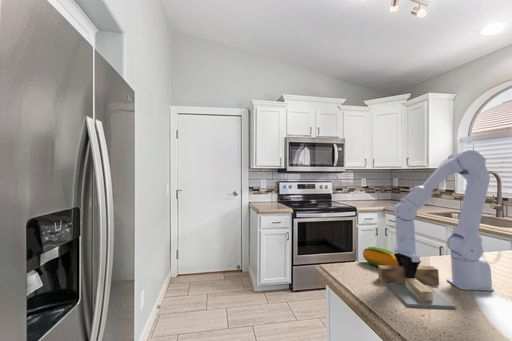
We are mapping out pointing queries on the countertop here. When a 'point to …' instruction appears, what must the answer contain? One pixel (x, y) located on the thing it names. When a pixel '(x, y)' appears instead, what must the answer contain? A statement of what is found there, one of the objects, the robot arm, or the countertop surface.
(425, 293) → the ridge
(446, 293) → the countertop surface
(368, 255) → the corn
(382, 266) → the brown wooden block
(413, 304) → the board
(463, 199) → the robot arm
